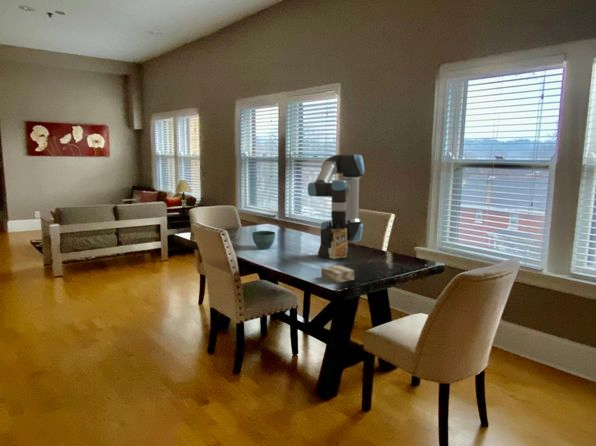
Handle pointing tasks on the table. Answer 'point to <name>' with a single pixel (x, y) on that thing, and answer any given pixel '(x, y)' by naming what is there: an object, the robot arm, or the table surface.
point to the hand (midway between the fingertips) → (338, 252)
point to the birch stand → (337, 273)
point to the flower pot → (263, 239)
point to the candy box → (339, 243)
